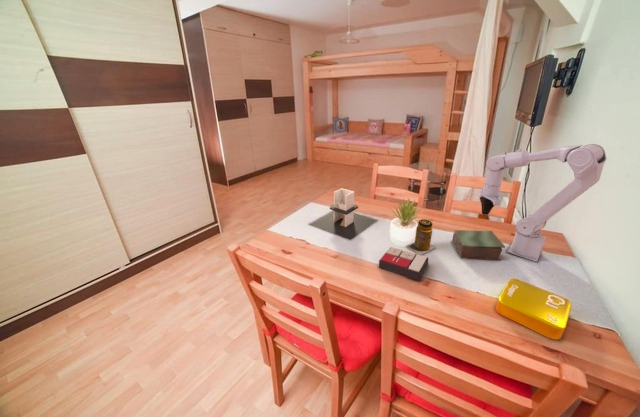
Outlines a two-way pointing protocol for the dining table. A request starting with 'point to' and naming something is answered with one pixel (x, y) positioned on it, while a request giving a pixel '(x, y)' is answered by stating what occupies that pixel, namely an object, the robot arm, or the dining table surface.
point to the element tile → (534, 308)
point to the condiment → (422, 237)
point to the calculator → (404, 263)
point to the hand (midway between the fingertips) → (485, 214)
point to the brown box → (476, 251)
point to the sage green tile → (478, 238)
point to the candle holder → (343, 217)
